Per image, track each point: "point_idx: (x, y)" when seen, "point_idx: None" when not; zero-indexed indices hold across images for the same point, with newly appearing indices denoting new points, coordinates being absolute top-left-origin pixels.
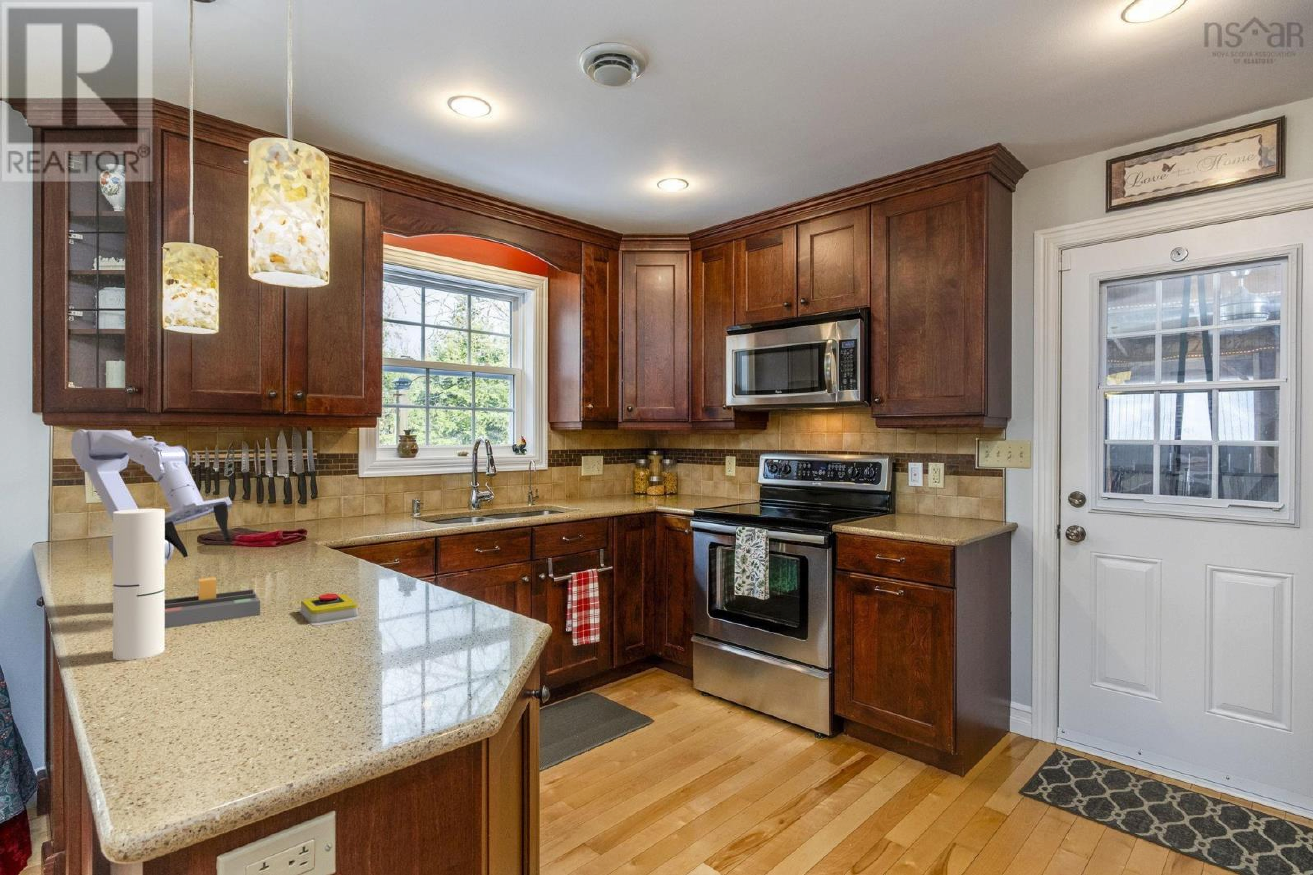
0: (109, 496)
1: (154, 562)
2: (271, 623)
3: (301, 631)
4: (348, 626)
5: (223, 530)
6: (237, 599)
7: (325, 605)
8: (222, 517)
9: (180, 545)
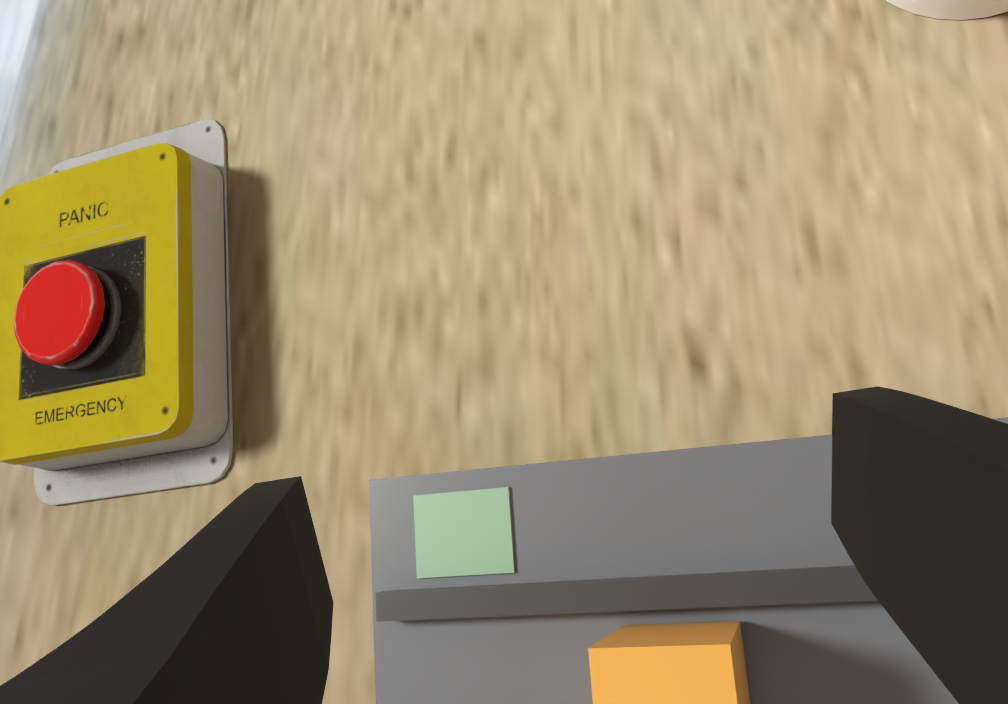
0: None
1: None
2: (372, 258)
3: (277, 55)
4: (116, 65)
5: (253, 520)
6: (490, 585)
7: (109, 227)
8: (60, 684)
9: (950, 419)
